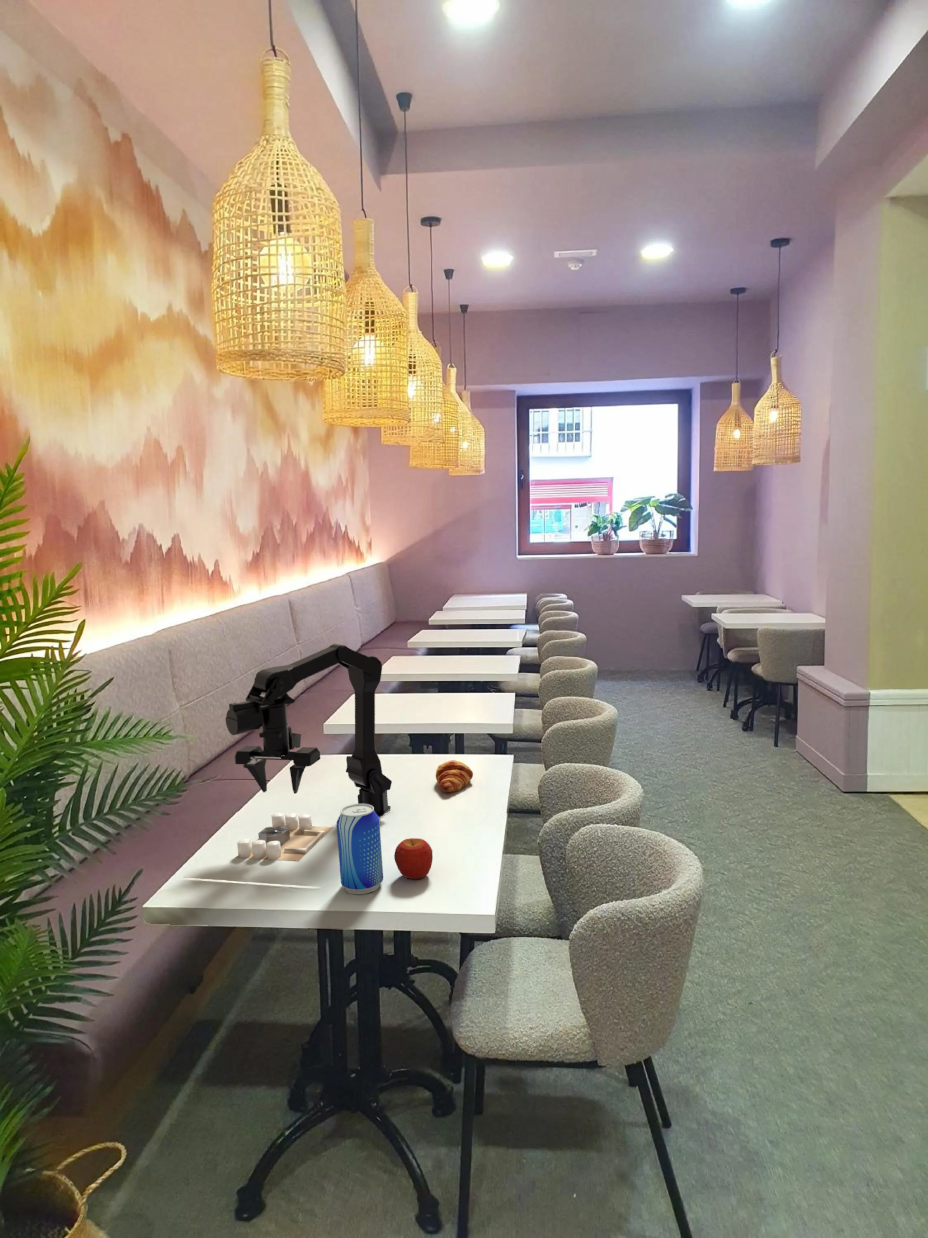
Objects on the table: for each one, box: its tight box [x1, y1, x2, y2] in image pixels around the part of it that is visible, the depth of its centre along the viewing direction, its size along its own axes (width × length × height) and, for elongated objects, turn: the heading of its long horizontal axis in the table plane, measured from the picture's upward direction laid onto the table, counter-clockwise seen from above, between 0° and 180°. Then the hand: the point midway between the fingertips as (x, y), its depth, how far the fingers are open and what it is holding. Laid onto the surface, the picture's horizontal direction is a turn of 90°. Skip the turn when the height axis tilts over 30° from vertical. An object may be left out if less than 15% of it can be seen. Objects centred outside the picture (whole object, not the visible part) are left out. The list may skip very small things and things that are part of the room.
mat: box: [235, 824, 334, 862], centre depth 187 cm, size 15×19×1 cm
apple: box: [393, 837, 434, 880], centre depth 167 cm, size 8×8×8 cm
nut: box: [257, 825, 290, 845], centre depth 188 cm, size 6×7×2 cm
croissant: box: [435, 759, 474, 793], centre depth 223 cm, size 21×10×8 cm, turn 171°
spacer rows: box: [236, 812, 313, 861], centre depth 188 cm, size 10×19×3 cm, turn 166°
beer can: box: [336, 803, 384, 895], centre depth 163 cm, size 8×8×16 cm
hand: (280, 792), depth 186 cm, fingers open, 7 cm apart
